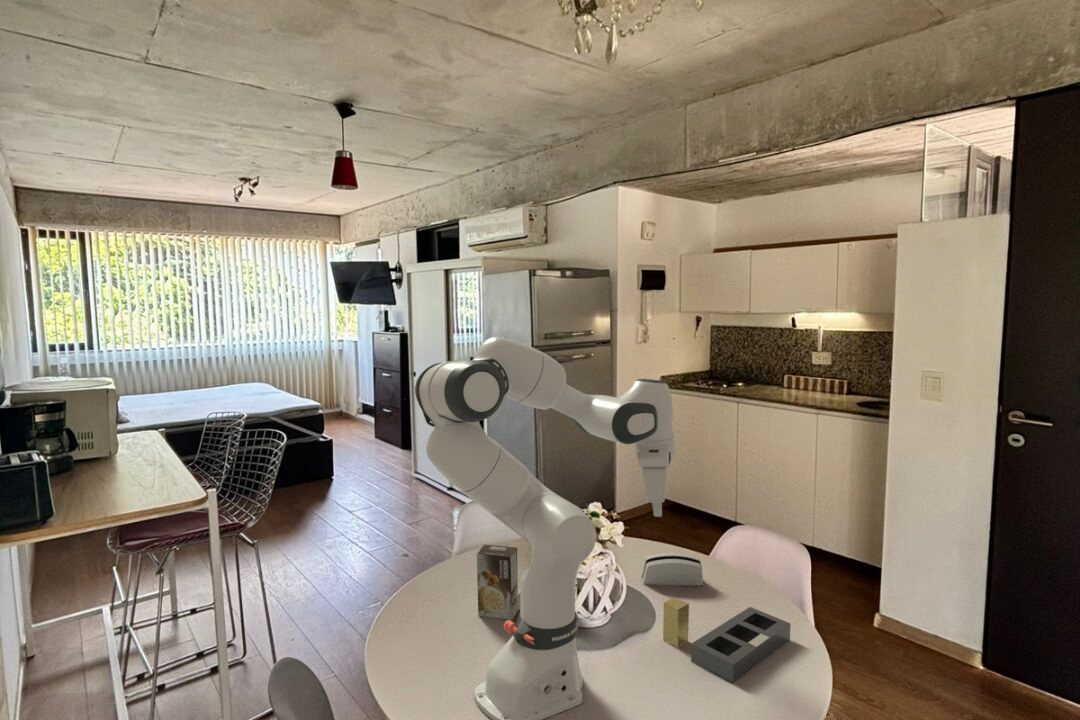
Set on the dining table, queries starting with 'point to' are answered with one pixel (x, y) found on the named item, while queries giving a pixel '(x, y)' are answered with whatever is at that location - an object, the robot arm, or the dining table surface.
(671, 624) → the brass peg
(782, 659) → the dining table surface
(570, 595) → the robot arm
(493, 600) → the grey food box
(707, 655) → the grey peg holder
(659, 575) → the grey rounded block
